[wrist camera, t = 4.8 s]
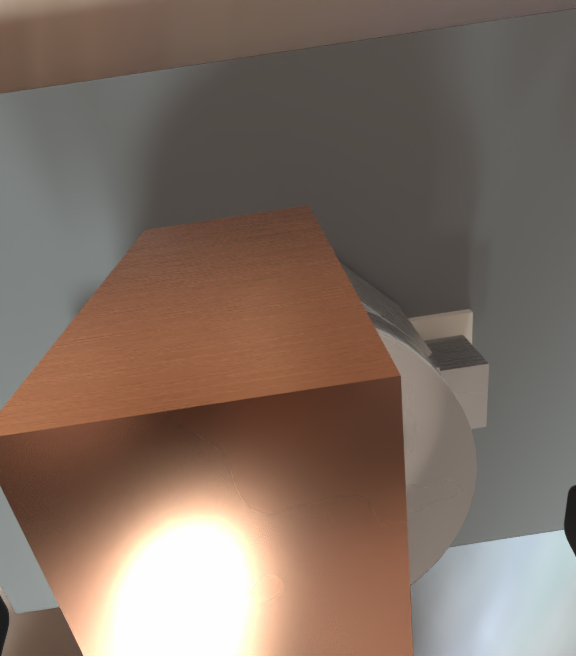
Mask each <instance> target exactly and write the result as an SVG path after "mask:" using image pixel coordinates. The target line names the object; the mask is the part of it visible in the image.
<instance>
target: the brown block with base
mask: <svg viewBox="0 0 576 656" xmlns="http://www.w3.org/2000/svg"><path fill="white" fill-rule="evenodd" d="M488 376H489V363H488V362H487V361H486V360H485V359H484V358H483V356H482V355H481V354H480V353H479V352H478V351H477V350H476V349H475V347H474V346H473V345H472V344H471V343H470V342H469V341H468V340H467V339H466V337H465V336H464V335H457V336H451V337H444V338H437V339H431V340H423V339H422V338H421V336H420V335H419V333H418V332H417V331H416V329H415V328H414V326H413V325H412V324H411V322H410V321H409V319H408V318H407V317H406V315H405V314H404V312H403V311H402V310H401V308H400V307H399V305H397V304H396V303H395V302H393V301H392V300H391V299H389V298H388V297H387V296H385V295H384V294H383V293H381V292H380V291H379V290H377V289H376V288H375V287H373V286H372V285H371V284H369V283H368V282H367V281H365V280H364V279H363V278H361V277H360V276H359V275H357V274H356V273H355V272H353V271H352V270H351V269H349V268H348V267H347V266H345V265H344V264H343V263H341V262H340V261H339V260H338V258H337V256H336V255H335V253H334V251H333V249H332V247H331V245H330V243H329V242H328V240H327V238H326V236H325V234H324V232H323V230H322V229H321V227H320V225H319V223H318V221H317V219H316V218H315V216H314V214H313V212H312V210H311V208H310V206H309V205H307V206H300V207H293V208H286V209H280V210H273V211H266V212H260V213H253V214H246V215H240V216H233V217H226V218H219V219H213V220H206V221H199V222H193V223H186V224H179V225H172V226H166V227H159V228H152V229H146V230H144V231H143V233H142V234H141V235H140V236H139V238H138V239H137V240H136V241H135V243H134V244H133V245H132V246H131V248H130V249H129V250H128V251H127V253H126V254H125V255H124V256H123V258H122V259H121V260H120V261H119V263H118V264H117V265H116V266H115V268H114V269H113V270H112V271H111V273H110V274H109V275H108V276H107V278H106V279H105V280H104V281H103V283H102V284H101V285H100V286H99V288H98V289H97V290H96V291H95V293H94V294H93V295H92V296H91V298H90V299H89V300H88V301H87V303H86V304H85V305H84V306H83V308H82V309H81V310H80V312H79V313H78V314H77V315H76V317H75V318H74V319H73V320H72V322H71V323H70V324H69V325H68V327H67V328H66V329H65V330H64V332H63V333H62V334H61V335H60V337H59V338H58V339H57V340H56V342H55V343H54V344H53V345H52V347H51V348H50V349H49V350H48V352H47V353H46V354H45V355H44V357H43V358H42V359H41V360H40V362H39V363H38V364H37V365H36V367H35V368H34V369H33V370H32V372H31V373H30V374H29V375H28V377H27V378H26V379H25V380H24V382H23V383H22V384H21V385H20V387H19V388H18V389H17V391H16V392H15V393H14V394H13V396H12V397H11V398H10V399H9V401H8V402H7V403H6V404H5V406H4V407H3V408H2V409H1V411H0V487H1V489H2V491H3V493H4V495H5V497H6V499H7V501H8V503H9V505H10V507H11V509H12V511H13V513H14V515H15V517H16V519H17V521H18V523H19V525H20V527H21V529H22V531H23V533H24V535H25V538H26V540H27V542H28V544H29V546H30V548H31V550H32V552H33V554H34V556H35V558H36V560H37V562H38V564H39V566H40V568H41V570H42V572H43V574H44V576H45V578H46V580H47V582H48V584H49V586H50V588H51V590H52V592H53V595H54V597H55V599H56V601H57V603H58V605H59V607H60V609H61V611H62V613H63V615H64V617H65V619H66V621H67V623H68V625H69V627H70V629H71V631H72V633H73V635H74V637H75V639H76V641H77V643H78V645H79V647H80V650H81V652H82V654H83V656H413V641H412V618H411V595H410V585H412V584H413V583H414V582H415V581H417V580H418V579H419V578H421V577H422V576H423V575H424V574H425V573H426V572H427V571H428V570H429V569H430V568H431V567H432V566H433V565H434V564H435V563H436V562H437V561H438V560H439V559H440V558H441V556H442V555H443V554H444V553H445V551H446V550H447V549H448V548H449V547H450V545H451V544H452V542H453V540H454V539H455V537H456V536H457V534H458V532H459V531H460V529H461V527H462V525H463V523H464V520H465V518H466V516H467V514H468V512H469V509H470V505H471V502H472V498H473V495H474V491H475V484H476V475H477V459H476V448H475V443H474V439H473V434H472V430H471V429H475V428H481V427H486V423H487V399H488Z"/></svg>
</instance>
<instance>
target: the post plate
mask: <svg viewBox="0 0 576 656" xmlns="http://www.w3.org/2000/svg"><path fill="white" fill-rule="evenodd" d="M307 205H309V206H310V208H311V210H312V212H313V214H314V216H315V218H316V219H317V221H318V223H319V225H320V227H321V229H322V230H323V232H324V234H325V236H326V238H327V240H328V242H329V243H330V245H331V247H332V249H333V251H334V253H335V255H336V256H337V258H338V260H339V261H340V262H341V263H343V264H344V265H345V266H347V267H348V268H349V269H351V270H352V271H353V272H355V273H356V274H357V275H359V276H360V277H361V278H363V279H364V280H365V281H367V282H368V283H369V284H371V285H372V286H373V287H375V288H376V289H377V290H379V291H380V292H381V293H383V294H384V295H385V296H387V297H388V298H389V299H391V300H392V301H393V302H395V303H396V304H397V305H399V307H400V308H401V310H402V311H403V312H404V314H405V315H406V317H407V318H408V319H409V321H410V322H411V324H412V325H413V326H414V328H415V329H416V331H417V332H418V333H419V335H420V336H421V338H422V339H423V340H431V339H437V338H444V337H451V336H457V335H464V336H465V337H466V339H467V340H468V341H469V342H470V343H471V344H472V345H473V346H474V347H475V349H476V350H477V351H478V352H479V353H480V354H481V355H482V356H483V358H484V359H485V360H486V361H487V362H488V363H489V376H488V399H487V423H486V427H481V428H475V429H471V430H472V434H473V439H474V443H475V448H476V459H477V475H476V484H475V491H474V495H473V498H472V502H471V505H470V509H469V512H468V514H467V516H466V518H465V520H464V523H463V525H462V527H461V529H460V531H459V532H458V534H457V536H456V537H455V539H454V540H453V542H452V544H451V545H450V547H454V546H460V545H467V544H473V543H480V542H486V541H493V540H499V539H506V538H512V537H519V536H525V535H532V534H538V533H545V532H551V531H558V530H564V518H565V511H566V503H567V496H568V491H569V489H570V488H571V487H572V486H574V485H576V8H575V9H568V10H562V11H555V12H548V13H541V14H535V15H528V16H521V17H514V18H508V19H501V20H494V21H487V22H481V23H474V24H467V25H460V26H454V27H447V28H440V29H433V30H427V31H420V32H413V33H406V34H400V35H393V36H386V37H379V38H373V39H366V40H359V41H352V42H346V43H339V44H332V45H325V46H319V47H312V48H305V49H298V50H292V51H285V52H278V53H272V54H265V55H258V56H251V57H245V58H238V59H231V60H224V61H218V62H211V63H204V64H197V65H191V66H184V67H177V68H170V69H164V70H157V71H150V72H143V73H137V74H130V75H123V76H116V77H110V78H103V79H96V80H89V81H83V82H76V83H69V84H62V85H56V86H49V87H42V88H35V89H29V90H22V91H15V92H8V93H2V94H0V411H1V409H2V408H3V407H4V406H5V404H6V403H7V402H8V401H9V399H10V398H11V397H12V396H13V394H14V393H15V392H16V391H17V389H18V388H19V387H20V385H21V384H22V383H23V382H24V380H25V379H26V378H27V377H28V375H29V374H30V373H31V372H32V370H33V369H34V368H35V367H36V365H37V364H38V363H39V362H40V360H41V359H42V358H43V357H44V355H45V354H46V353H47V352H48V350H49V349H50V348H51V347H52V345H53V344H54V343H55V342H56V340H57V339H58V338H59V337H60V335H61V334H62V333H63V332H64V330H65V329H66V328H67V327H68V325H69V324H70V323H71V322H72V320H73V319H74V318H75V317H76V315H77V314H78V313H79V312H80V310H81V309H82V308H83V306H84V305H85V304H86V303H87V301H88V300H89V299H90V298H91V296H92V295H93V294H94V293H95V291H96V290H97V289H98V288H99V286H100V285H101V284H102V283H103V281H104V280H105V279H106V278H107V276H108V275H109V274H110V273H111V271H112V270H113V269H114V268H115V266H116V265H117V264H118V263H119V261H120V260H121V259H122V258H123V256H124V255H125V254H126V253H127V251H128V250H129V249H130V248H131V246H132V245H133V244H134V243H135V241H136V240H137V239H138V238H139V236H140V235H141V234H142V233H143V231H144V230H146V229H152V228H159V227H166V226H172V225H179V224H186V223H193V222H199V221H206V220H213V219H219V218H226V217H233V216H240V215H246V214H253V213H260V212H266V211H273V210H280V209H286V208H293V207H300V206H307ZM0 586H1V588H2V590H3V591H4V593H5V595H6V597H7V599H8V600H9V602H10V604H11V606H12V608H13V609H14V611H15V613H16V614H18V613H25V612H31V611H38V610H44V609H51V608H57V607H59V605H58V603H57V601H56V599H55V597H54V595H53V592H52V590H51V588H50V586H49V584H48V582H47V580H46V578H45V576H44V574H43V572H42V570H41V568H40V566H39V564H38V562H37V560H36V558H35V556H34V554H33V552H32V550H31V548H30V546H29V544H28V542H27V540H26V538H25V535H24V533H23V531H22V529H21V527H20V525H19V523H18V521H17V519H16V517H15V515H14V513H13V511H12V509H11V507H10V505H9V503H8V501H7V499H6V497H5V495H4V493H3V491H2V489H1V487H0Z"/></svg>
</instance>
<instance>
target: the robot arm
mask: <svg viewBox="0 0 576 656" xmlns="http://www.w3.org/2000/svg"><path fill="white" fill-rule="evenodd" d="M564 531H565V535H566V537H567V540H568V542H569V544H570V546H571V548H572V550H573V552H574V554H575V556H576V485H574V486H572V487H571V488H570V489H569V491H568V496H567V503H566V511H565V518H564ZM8 626H9V612H8V609H7V607H6V605H5V603H4V601H3V599H2V598H1V596H0V656H1V654H2V651H3V647H4V643H5V639H6V635H7V631H8Z"/></svg>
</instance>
